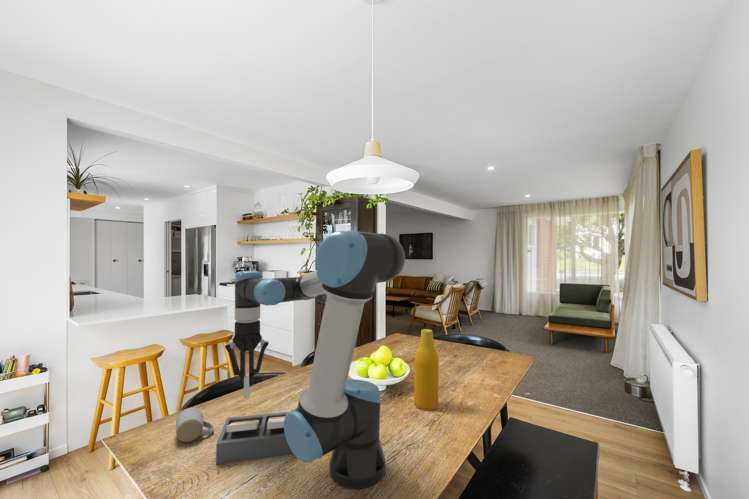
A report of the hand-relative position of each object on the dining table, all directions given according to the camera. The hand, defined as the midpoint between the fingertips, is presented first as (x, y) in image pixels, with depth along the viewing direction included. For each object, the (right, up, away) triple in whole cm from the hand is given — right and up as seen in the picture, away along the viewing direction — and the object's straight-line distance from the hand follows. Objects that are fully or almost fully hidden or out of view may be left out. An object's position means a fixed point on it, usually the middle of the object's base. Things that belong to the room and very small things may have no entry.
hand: (246, 396), depth 104 cm
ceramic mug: (-17, -13, +2) cm, 22 cm away
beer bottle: (+60, -15, +25) cm, 66 cm away
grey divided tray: (+6, -13, -2) cm, 15 cm away
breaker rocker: (0, -7, -4) cm, 8 cm away
